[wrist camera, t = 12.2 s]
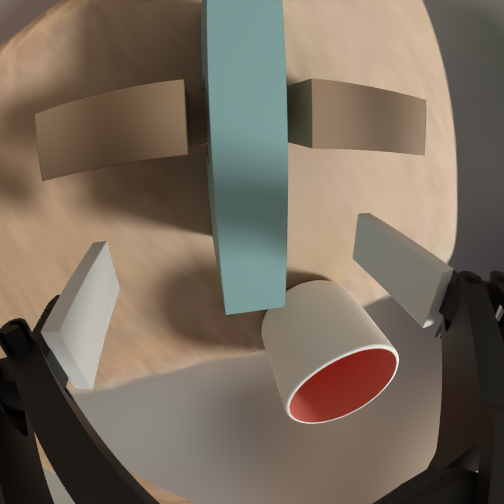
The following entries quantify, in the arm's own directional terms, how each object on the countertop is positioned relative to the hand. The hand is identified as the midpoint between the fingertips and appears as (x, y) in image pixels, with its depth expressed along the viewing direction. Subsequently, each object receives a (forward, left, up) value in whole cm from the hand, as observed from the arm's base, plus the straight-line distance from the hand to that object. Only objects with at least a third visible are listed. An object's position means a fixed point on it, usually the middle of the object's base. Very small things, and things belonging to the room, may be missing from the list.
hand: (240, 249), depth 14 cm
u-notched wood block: (0, +6, -9) cm, 11 cm away
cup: (+7, -13, -9) cm, 17 cm away
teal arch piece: (0, +6, -9) cm, 11 cm away
